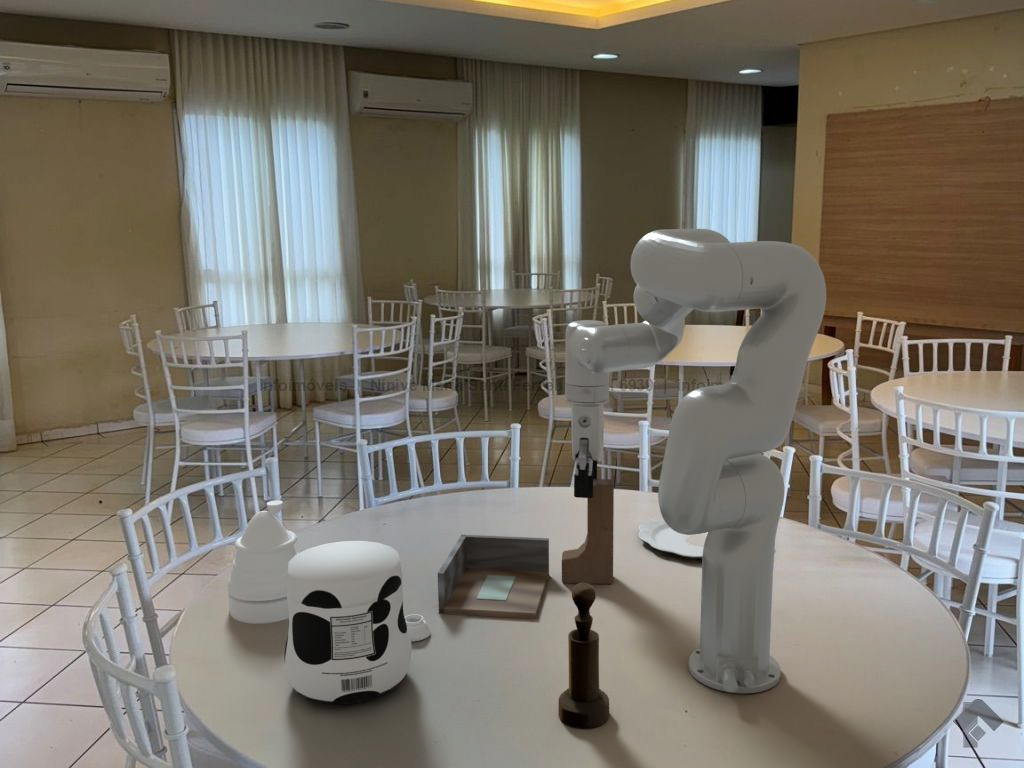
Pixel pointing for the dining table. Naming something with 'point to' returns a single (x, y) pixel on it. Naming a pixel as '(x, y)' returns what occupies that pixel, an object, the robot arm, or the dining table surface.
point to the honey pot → (261, 569)
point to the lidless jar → (417, 627)
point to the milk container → (346, 622)
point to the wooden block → (594, 540)
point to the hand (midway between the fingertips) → (585, 488)
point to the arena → (494, 576)
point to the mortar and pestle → (583, 669)
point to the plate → (668, 539)
